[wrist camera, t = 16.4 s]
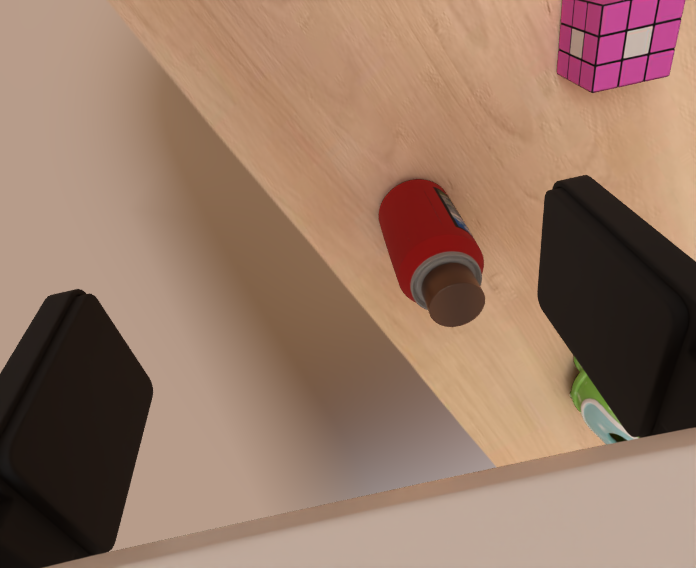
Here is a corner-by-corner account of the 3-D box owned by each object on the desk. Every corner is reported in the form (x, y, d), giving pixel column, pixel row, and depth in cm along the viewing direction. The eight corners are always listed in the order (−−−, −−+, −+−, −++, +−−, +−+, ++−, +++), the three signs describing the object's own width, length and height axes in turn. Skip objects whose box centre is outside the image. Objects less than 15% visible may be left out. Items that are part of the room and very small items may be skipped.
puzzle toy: (638, -23, 36) (689, -15, 31) (625, 58, 39) (670, 76, 35) (562, -6, 36) (602, 5, 31) (556, 74, 39) (591, 93, 35)
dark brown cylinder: (424, 310, 37) (432, 332, 35) (418, 269, 35) (426, 290, 33) (475, 299, 37) (486, 320, 35) (473, 256, 35) (484, 277, 33)
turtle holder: (574, 429, 70) (619, 509, 61) (555, 351, 60) (606, 433, 50) (660, 400, 68) (722, 477, 59) (656, 314, 58) (730, 391, 48)
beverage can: (442, 237, 48) (482, 316, 38) (375, 240, 47) (398, 321, 38) (452, 173, 44) (499, 243, 34) (378, 176, 43) (406, 248, 34)
